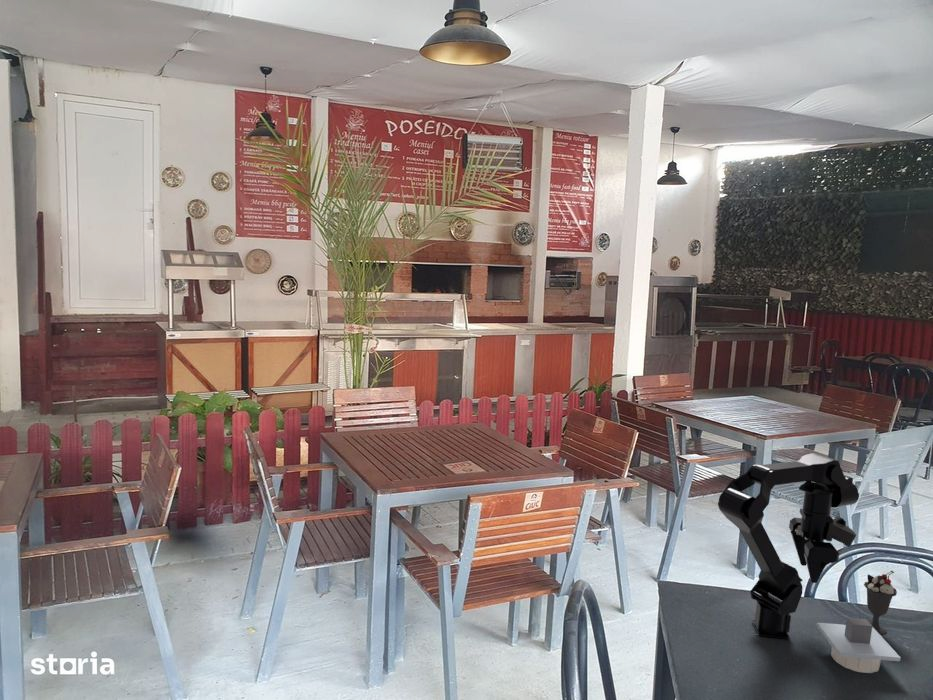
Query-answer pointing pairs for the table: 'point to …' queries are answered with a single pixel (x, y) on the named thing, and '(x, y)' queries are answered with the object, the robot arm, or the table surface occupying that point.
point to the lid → (857, 640)
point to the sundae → (879, 598)
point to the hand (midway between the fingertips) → (808, 573)
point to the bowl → (857, 663)
